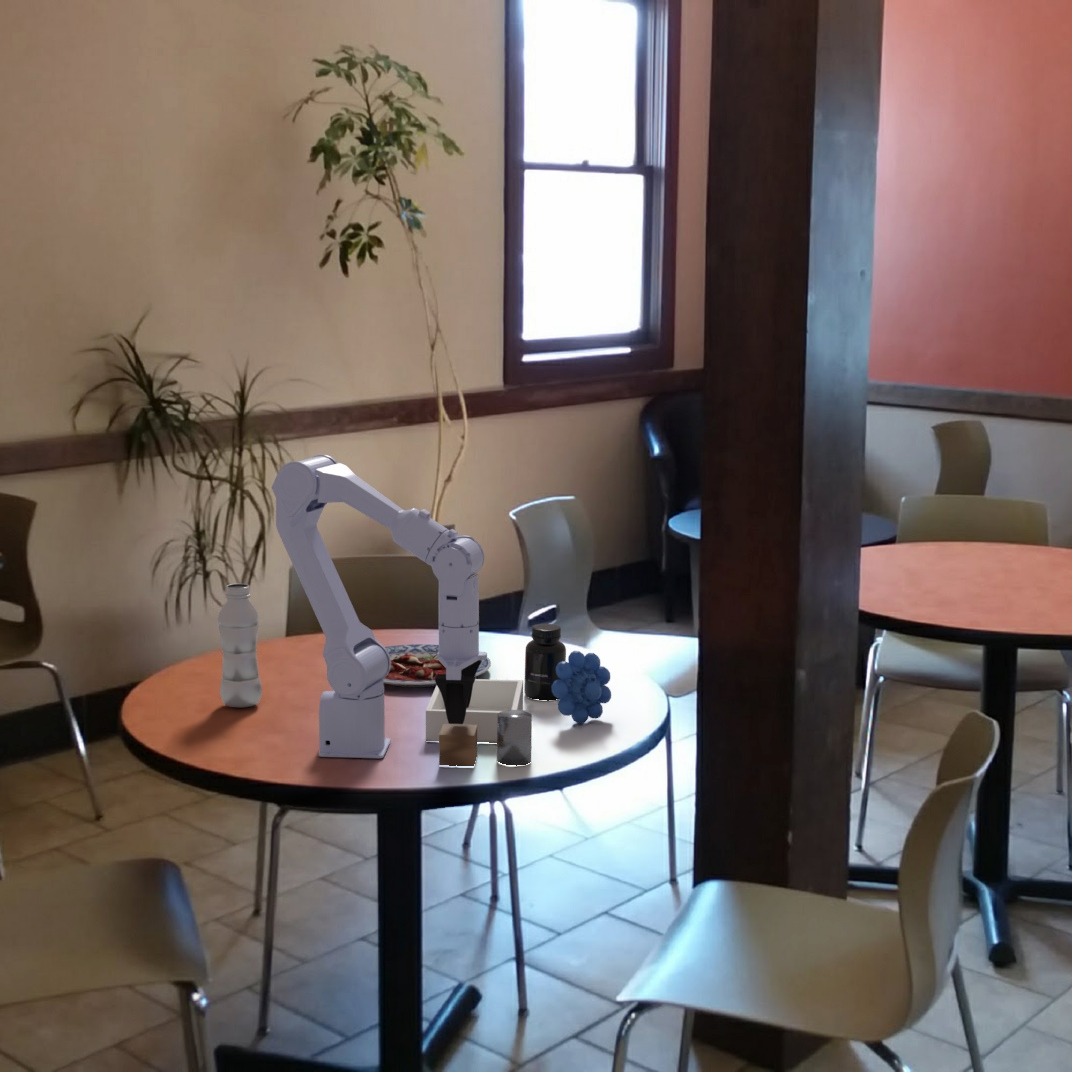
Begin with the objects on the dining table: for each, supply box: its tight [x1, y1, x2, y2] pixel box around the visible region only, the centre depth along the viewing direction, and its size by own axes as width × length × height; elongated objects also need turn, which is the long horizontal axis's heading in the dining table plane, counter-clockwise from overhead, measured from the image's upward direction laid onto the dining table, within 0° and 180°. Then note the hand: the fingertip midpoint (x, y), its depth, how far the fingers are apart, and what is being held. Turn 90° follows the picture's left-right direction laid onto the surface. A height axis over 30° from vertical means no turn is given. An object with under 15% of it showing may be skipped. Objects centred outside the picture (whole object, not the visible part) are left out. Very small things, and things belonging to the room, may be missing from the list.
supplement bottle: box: [523, 623, 567, 702], centre depth 236 cm, size 7×7×12 cm
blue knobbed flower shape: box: [552, 650, 612, 724], centre depth 221 cm, size 12×7×12 cm, turn 127°
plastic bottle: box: [217, 583, 263, 708], centre depth 228 cm, size 6×7×20 cm
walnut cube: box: [438, 724, 478, 766], centre depth 204 cm, size 5×5×5 cm
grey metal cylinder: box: [496, 710, 533, 766], centre depth 204 cm, size 5×5×7 cm
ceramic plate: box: [383, 643, 492, 688], centre depth 250 cm, size 26×26×3 cm
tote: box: [425, 678, 524, 743], centre depth 220 cm, size 14×18×5 cm
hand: (458, 715), depth 203 cm, fingers open, 7 cm apart
